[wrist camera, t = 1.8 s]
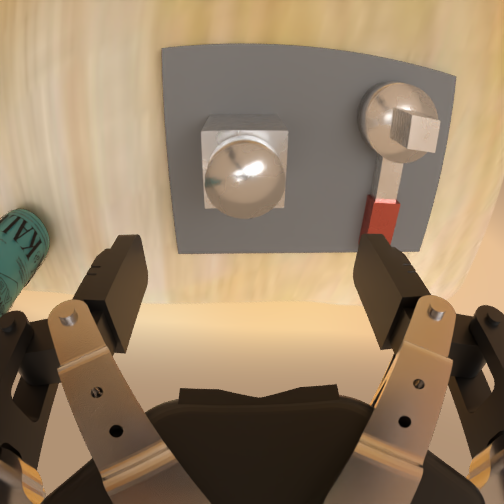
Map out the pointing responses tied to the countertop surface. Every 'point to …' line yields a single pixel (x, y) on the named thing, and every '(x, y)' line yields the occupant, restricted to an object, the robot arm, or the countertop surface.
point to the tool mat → (294, 144)
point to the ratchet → (393, 145)
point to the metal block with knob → (244, 163)
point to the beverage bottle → (19, 253)
